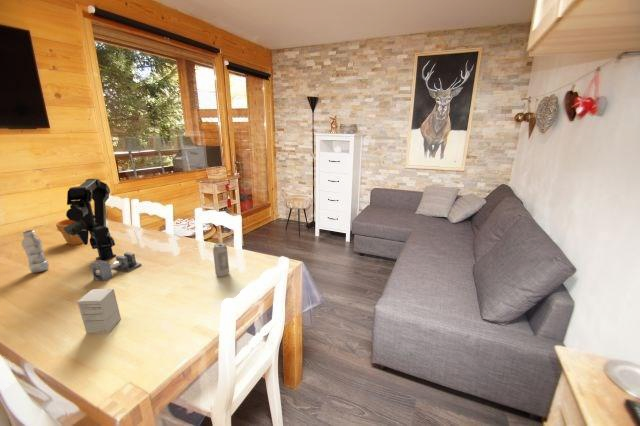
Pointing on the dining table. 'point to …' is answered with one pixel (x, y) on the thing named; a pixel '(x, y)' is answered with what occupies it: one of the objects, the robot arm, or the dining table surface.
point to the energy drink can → (221, 259)
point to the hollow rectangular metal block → (101, 270)
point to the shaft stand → (123, 263)
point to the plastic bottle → (34, 252)
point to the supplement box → (99, 310)
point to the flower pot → (69, 238)
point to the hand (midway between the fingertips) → (92, 246)
